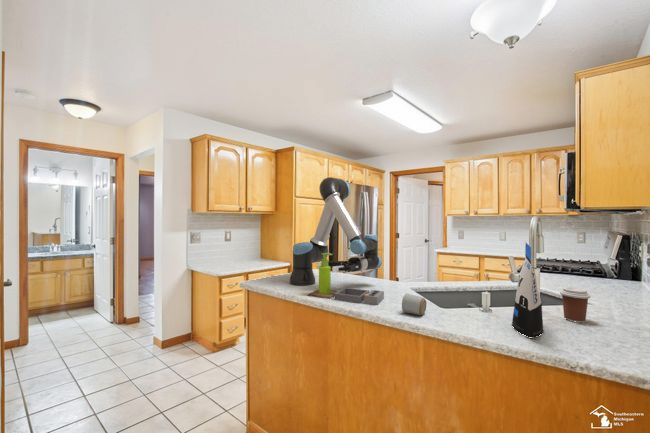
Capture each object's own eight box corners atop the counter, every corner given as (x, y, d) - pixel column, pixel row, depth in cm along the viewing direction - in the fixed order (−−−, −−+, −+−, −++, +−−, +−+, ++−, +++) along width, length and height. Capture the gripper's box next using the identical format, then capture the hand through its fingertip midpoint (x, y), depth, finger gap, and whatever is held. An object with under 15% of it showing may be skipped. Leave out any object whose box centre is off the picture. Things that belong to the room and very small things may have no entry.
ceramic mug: (421, 318, 119) (421, 298, 119) (401, 313, 124) (401, 295, 124) (429, 311, 128) (430, 293, 128) (410, 308, 133) (411, 290, 133)
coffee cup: (594, 321, 116) (594, 290, 116) (583, 325, 112) (584, 293, 112) (566, 314, 124) (566, 285, 124) (555, 318, 120) (555, 287, 120)
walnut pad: (319, 290, 162) (319, 288, 162) (339, 293, 156) (339, 291, 156) (308, 295, 151) (308, 293, 151) (330, 298, 146) (330, 296, 146)
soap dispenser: (328, 295, 149) (329, 254, 149) (316, 293, 152) (316, 253, 152) (334, 292, 154) (334, 252, 154) (322, 290, 157) (322, 252, 157)
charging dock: (344, 293, 156) (344, 285, 156) (384, 298, 147) (384, 290, 147) (334, 299, 144) (334, 291, 144) (376, 305, 135) (376, 296, 135)
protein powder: (539, 320, 118) (540, 242, 118) (547, 342, 97) (548, 248, 97) (510, 315, 123) (511, 241, 122) (512, 336, 102) (513, 246, 101)
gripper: (373, 274, 155) (339, 279, 143) (343, 267, 175) (311, 271, 164) (373, 259, 155) (339, 263, 143) (343, 254, 175) (311, 257, 164)
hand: (324, 267), depth 153 cm, fingers open, 13 cm apart
